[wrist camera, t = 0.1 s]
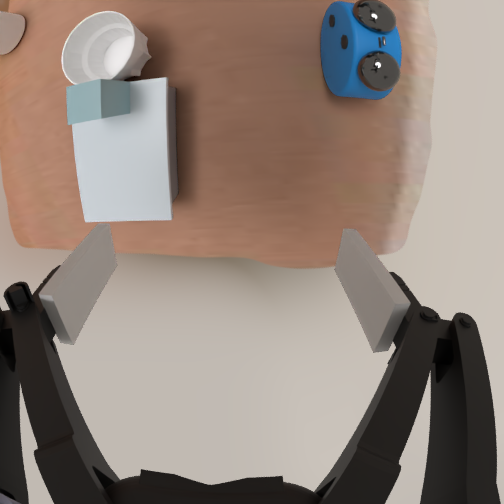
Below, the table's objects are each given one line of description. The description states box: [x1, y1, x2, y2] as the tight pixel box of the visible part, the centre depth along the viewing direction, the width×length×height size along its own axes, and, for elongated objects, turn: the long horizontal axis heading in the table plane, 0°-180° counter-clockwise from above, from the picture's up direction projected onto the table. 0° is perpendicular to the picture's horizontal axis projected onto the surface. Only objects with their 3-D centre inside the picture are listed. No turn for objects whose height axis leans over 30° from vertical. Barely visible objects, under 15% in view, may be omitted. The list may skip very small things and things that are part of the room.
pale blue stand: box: [67, 77, 173, 222], centre depth 28 cm, size 18×13×9 cm
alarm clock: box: [321, 0, 402, 100], centre depth 26 cm, size 13×6×15 cm, turn 3°
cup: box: [61, 11, 152, 85], centre depth 27 cm, size 10×10×10 cm
